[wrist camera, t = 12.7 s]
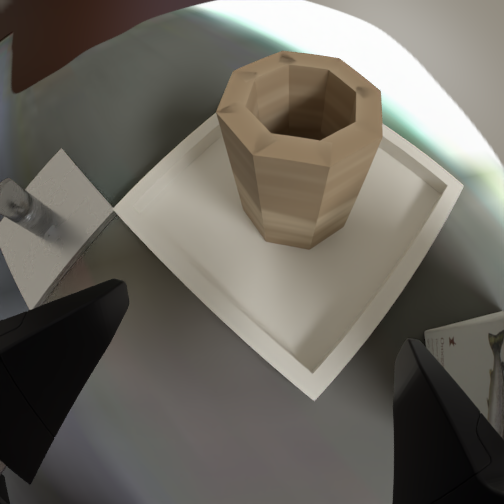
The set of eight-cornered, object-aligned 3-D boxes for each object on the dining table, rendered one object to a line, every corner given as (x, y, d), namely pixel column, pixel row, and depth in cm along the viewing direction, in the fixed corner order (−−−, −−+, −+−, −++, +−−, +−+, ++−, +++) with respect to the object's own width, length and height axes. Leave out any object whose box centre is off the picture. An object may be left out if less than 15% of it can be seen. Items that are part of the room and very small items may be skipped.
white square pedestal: (35, 313, 19) (-19, 298, 13) (-2, 233, 21) (-43, 210, 16) (118, 213, 20) (75, 172, 15) (64, 151, 23) (30, 115, 18)
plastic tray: (310, 395, 16) (314, 401, 14) (125, 221, 20) (112, 208, 18) (451, 199, 18) (464, 185, 16) (278, 83, 23) (278, 65, 21)
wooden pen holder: (283, 266, 17) (284, 193, 9) (228, 188, 19) (195, 89, 11) (365, 211, 18) (412, 120, 10) (306, 143, 20) (313, 40, 12)
